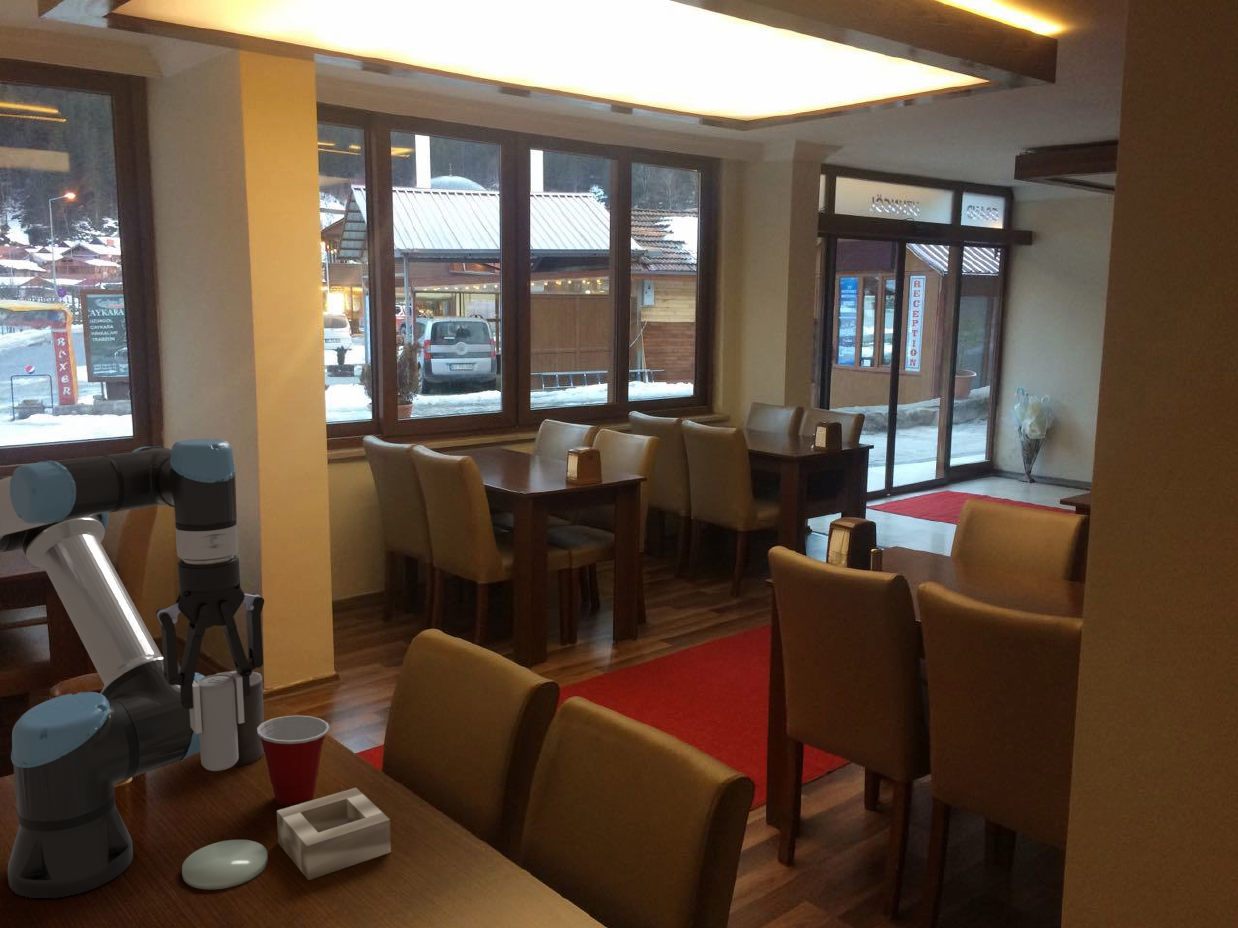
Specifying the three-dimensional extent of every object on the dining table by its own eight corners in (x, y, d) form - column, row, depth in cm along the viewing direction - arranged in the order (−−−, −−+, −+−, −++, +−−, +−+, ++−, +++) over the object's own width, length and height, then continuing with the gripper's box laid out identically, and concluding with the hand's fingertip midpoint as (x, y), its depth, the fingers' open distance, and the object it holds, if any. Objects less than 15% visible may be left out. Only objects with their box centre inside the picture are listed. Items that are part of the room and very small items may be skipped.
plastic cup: (341, 801, 159) (339, 729, 157) (271, 821, 153) (267, 745, 151) (319, 775, 168) (316, 706, 166) (252, 792, 162) (248, 721, 160)
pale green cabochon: (173, 862, 142) (172, 855, 142) (252, 837, 148) (252, 831, 148) (194, 898, 133) (194, 891, 133) (278, 871, 140) (278, 864, 140)
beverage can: (225, 773, 136) (221, 688, 134) (193, 770, 136) (188, 685, 135) (245, 758, 140) (241, 675, 138) (214, 754, 141) (209, 672, 139)
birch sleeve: (278, 842, 147) (276, 810, 146) (357, 818, 154) (356, 787, 153) (308, 880, 138) (307, 845, 137) (390, 852, 145) (390, 819, 144)
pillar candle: (229, 773, 169) (225, 686, 166) (193, 758, 174) (189, 674, 172) (277, 752, 177) (274, 670, 175) (241, 739, 182) (238, 658, 180)
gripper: (142, 573, 126) (153, 751, 129) (285, 553, 136) (292, 718, 140) (128, 561, 131) (139, 731, 135) (267, 542, 142) (274, 701, 146)
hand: (217, 724), depth 137 cm, fingers closed on beverage can, 5 cm apart
